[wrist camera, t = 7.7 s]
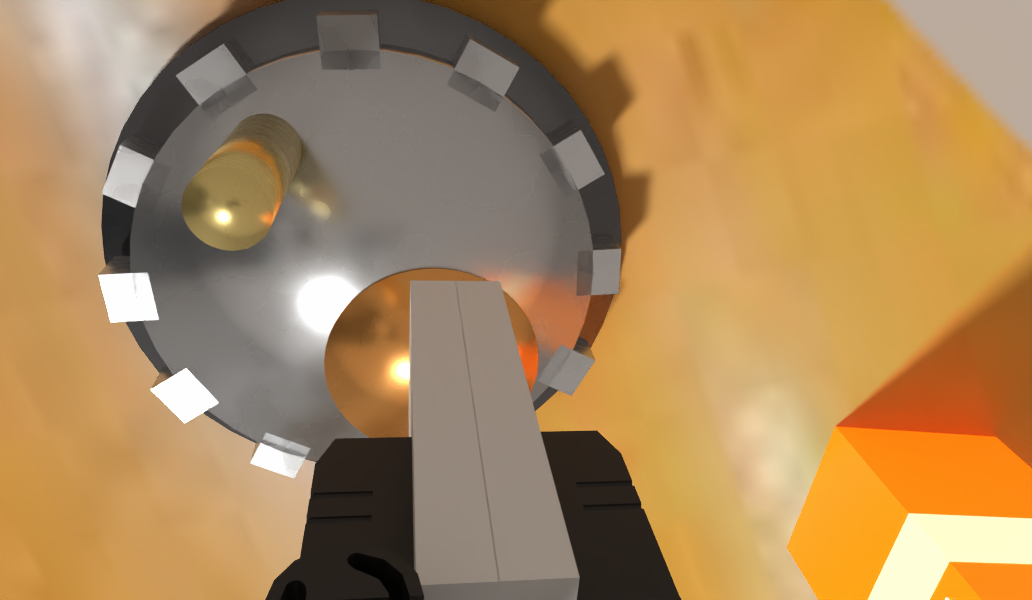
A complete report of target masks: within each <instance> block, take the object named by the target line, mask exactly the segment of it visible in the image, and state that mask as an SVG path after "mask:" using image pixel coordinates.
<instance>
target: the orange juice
mask: <svg viewBox="0 0 1032 600" xmlns="http://www.w3.org/2000/svg"><path fill="white" fill-rule="evenodd" d="M787 548H788V550H789V552H790V553H791V555H792V557H793V558H794V560H795V562H796V563H797V565H798V567H799V568H800V570H801V572H802V573H803V575H804V577H805V578H806V580H807V582H808V583H809V585H810V587H811V588H812V590H813V592H814V593H815V595H816V597H817V598H818V600H1032V468H1031V467H1030V466H1028V465H1027V464H1026V463H1025V462H1024V461H1023V460H1022V459H1020V458H1019V457H1018V456H1017V455H1016V454H1015V453H1014V452H1012V451H1011V450H1010V449H1009V448H1008V447H1007V446H1006V445H1004V444H1003V443H1002V442H1001V441H1000V440H999V439H998V438H997V437H991V436H975V435H960V434H944V433H929V432H913V431H898V430H882V429H867V428H851V427H836V426H835V429H834V431H833V434H832V436H831V439H830V441H829V444H828V446H827V449H826V451H825V454H824V456H823V459H822V461H821V464H820V466H819V469H818V471H817V474H816V476H815V479H814V481H813V484H812V486H811V489H810V491H809V494H808V496H807V499H806V501H805V504H804V506H803V509H802V511H801V514H800V516H799V519H798V521H797V524H796V526H795V529H794V531H793V534H792V536H791V539H790V541H789V544H788V546H787Z"/></svg>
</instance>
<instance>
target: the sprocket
mask: <svg viewBox="0 0 1032 600" xmlns="http://www.w3.org/2000/svg"><path fill="white" fill-rule="evenodd" d="M316 19H317V28H318V37H319V46H315V47H310V48H306V49H302V50H297V51H293V52H289V53H286V54H284V55H281V56H278V57H276V58H273V59H270V60H268V61H265V62H263V63H260V64H258V65H256V66H255V64H254V63H253V61H252V60H251V59H250V57H249V56H248V55H247V53H246V52H245V51H244V49H243V48H242V46H241V45H240V44H239V42H238V41H237V40H236V38H235V37H233V38H231V39H230V40H228V41H227V42H225V43H224V44H222V45H221V46H219V47H218V48H216V49H215V50H213V51H212V52H210V53H209V54H207V55H206V56H204V57H203V58H201V59H200V60H198V61H197V62H195V63H194V64H192V65H191V66H189V67H188V68H186V69H185V70H183V71H182V72H180V73H179V74H177V75H176V77H177V78H178V79H179V80H180V82H181V83H182V84H183V86H184V87H185V88H186V89H187V91H188V92H189V93H190V94H191V96H192V97H193V98H194V99H195V101H196V102H197V103H198V105H199V106H197V107H196V108H195V109H194V110H193V111H192V112H191V113H190V114H189V116H188V117H187V118H186V119H185V120H184V121H183V122H182V123H181V124H180V125H179V126H178V127H177V128H176V129H175V130H174V131H173V133H172V134H171V135H170V137H169V138H168V140H167V141H166V143H165V144H164V145H163V144H160V143H158V142H156V141H154V140H152V139H150V138H147V137H145V136H143V135H141V134H139V133H137V132H136V133H135V134H133V135H132V136H131V137H129V138H128V139H127V140H125V141H124V142H123V143H121V144H120V146H119V149H118V151H117V154H116V157H115V159H114V162H113V165H112V167H111V170H110V173H109V175H108V178H107V181H106V183H105V186H104V189H103V191H102V194H104V195H106V196H108V197H111V198H113V199H115V200H118V201H120V202H122V203H125V204H127V205H129V206H132V207H134V208H135V210H134V216H133V223H132V230H131V237H130V256H114V257H113V259H112V260H111V261H110V262H109V263H108V264H107V265H106V267H105V268H104V269H103V270H102V271H101V272H100V273H99V274H98V276H99V280H100V284H101V288H102V292H103V295H104V299H105V303H106V307H107V310H108V314H109V318H110V322H125V321H143V323H144V326H145V328H146V330H147V332H148V334H149V336H150V338H151V340H152V342H153V344H154V346H155V348H156V350H157V352H158V353H159V355H160V356H161V358H162V359H163V361H164V362H165V364H166V366H164V367H163V368H162V370H161V372H160V374H159V376H158V377H157V379H156V381H155V383H154V385H153V386H152V388H151V391H152V392H154V393H155V394H156V395H157V396H158V397H159V398H160V399H161V400H162V401H163V402H164V403H165V404H166V405H167V406H168V407H169V408H170V409H171V410H172V411H173V412H174V413H175V414H176V415H177V416H178V417H179V418H180V419H181V420H182V421H183V422H184V423H186V422H188V421H189V420H191V419H193V418H194V417H196V416H198V415H199V414H201V413H203V412H205V411H206V410H208V411H210V412H211V413H212V414H214V415H215V416H216V417H218V418H219V419H221V420H222V421H223V422H225V423H226V424H228V425H229V426H230V427H232V428H233V429H235V430H237V431H239V432H241V433H242V434H244V435H246V436H248V437H250V438H252V439H253V440H255V441H256V445H255V448H254V452H253V455H252V458H251V462H250V463H251V464H254V465H257V466H259V467H262V468H265V469H268V470H271V471H274V472H277V473H280V474H283V475H286V476H289V477H292V478H295V476H296V474H297V472H298V470H299V469H300V467H301V465H302V463H303V461H304V460H305V459H308V460H313V461H318V460H319V459H320V457H321V456H322V455H323V454H324V452H325V451H326V450H327V449H328V447H329V446H330V445H331V444H332V442H333V441H334V440H335V439H337V438H386V437H409V342H410V280H417V281H500V283H501V287H502V291H503V294H504V298H505V302H506V306H507V309H508V313H509V317H510V320H511V324H512V328H513V332H514V335H515V339H516V343H517V346H518V350H519V354H520V358H521V361H522V365H523V369H524V372H525V376H526V380H527V384H528V387H529V391H530V395H531V398H532V402H534V401H535V400H536V399H537V398H538V397H539V396H540V395H541V394H542V393H543V392H544V391H545V390H546V389H547V388H548V386H550V387H552V388H554V389H557V390H559V391H561V392H564V393H566V394H568V395H571V396H572V394H573V393H574V391H575V390H576V388H577V387H578V385H579V384H580V382H581V381H582V379H583V378H584V376H585V375H586V373H587V372H588V370H589V369H590V367H591V366H592V365H593V363H594V362H595V358H594V356H593V354H592V351H591V349H590V347H589V344H588V342H587V340H585V339H583V338H581V337H579V334H580V332H581V329H582V327H583V324H584V321H585V317H586V313H587V309H588V306H589V302H590V297H591V295H603V294H619V280H620V264H621V247H620V246H619V244H618V243H617V241H616V240H615V238H614V237H613V235H612V234H611V233H599V234H591V233H590V227H589V221H588V218H587V214H586V211H585V208H584V205H583V202H582V199H581V195H580V193H579V191H578V190H579V189H581V188H582V187H584V186H586V185H587V184H589V183H591V182H592V181H594V180H596V179H597V178H599V177H601V176H602V175H604V174H605V173H604V172H603V170H602V168H601V166H600V164H599V162H598V160H597V159H596V157H595V155H594V153H593V151H592V149H591V148H590V146H589V144H588V142H587V140H586V138H585V137H584V135H583V133H582V131H581V129H580V128H579V127H578V126H577V125H576V123H575V122H574V121H573V120H572V119H571V120H569V121H568V122H566V123H564V124H563V125H561V126H559V127H558V128H556V129H554V130H553V131H551V132H550V133H548V134H545V133H544V131H543V130H542V129H541V128H540V127H539V125H538V124H537V123H536V122H535V121H534V120H533V119H532V118H531V116H530V115H529V114H528V113H527V112H526V111H525V110H524V109H523V108H522V107H521V106H520V105H519V104H517V103H516V102H515V101H514V100H513V99H512V98H510V97H509V96H508V95H507V94H506V91H507V90H508V88H509V86H510V84H511V82H512V81H513V79H514V77H515V75H516V73H517V71H518V70H519V68H520V67H519V66H518V65H517V64H516V62H515V61H514V60H513V59H512V58H510V57H508V56H506V55H505V54H503V53H501V52H499V51H498V50H496V49H494V48H493V47H491V46H489V45H487V44H486V43H484V42H482V41H480V40H479V39H477V38H475V37H474V36H472V35H470V34H468V33H466V35H465V37H464V39H463V41H462V43H461V44H460V46H459V48H458V50H457V52H456V54H455V56H454V58H453V60H452V61H450V60H447V59H444V58H441V57H438V56H435V55H432V54H429V53H426V52H423V51H420V50H416V49H411V48H405V47H400V46H394V45H389V44H381V35H380V22H379V9H371V10H321V11H320V12H319V13H318V14H317V15H316Z"/></svg>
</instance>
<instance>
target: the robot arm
mask: <svg viewBox="0 0 1032 600" xmlns="http://www.w3.org/2000/svg"><path fill="white" fill-rule="evenodd" d="M265 600H681V598H680V596H679V594H678V592H677V589H676V587H675V584H674V582H673V580H672V577H671V575H670V572H669V570H668V567H667V565H666V562H665V560H664V558H663V555H662V553H661V550H660V548H659V545H658V543H657V540H656V538H655V536H654V533H653V531H652V528H651V526H650V523H649V521H648V518H647V516H646V514H645V511H644V509H642V508H641V501H640V499H639V496H638V494H637V492H636V489H635V487H634V486H632V479H631V477H630V474H629V472H628V470H627V467H626V465H625V462H624V460H623V457H622V455H621V453H620V452H619V451H618V450H617V449H616V448H615V447H614V446H612V445H611V444H610V443H609V442H608V441H607V440H606V439H605V438H604V437H603V436H602V435H601V434H600V433H599V432H598V431H557V432H540V428H539V424H538V421H537V417H536V413H535V410H534V406H533V402H532V398H531V395H530V391H529V387H528V384H527V380H526V376H525V372H524V369H523V365H522V361H521V358H520V354H519V350H518V346H517V343H516V339H515V335H514V332H513V328H512V324H511V320H510V317H509V313H508V309H507V306H506V302H505V298H504V294H503V291H502V287H501V283H500V281H417V280H410V342H409V437H386V438H337V439H335V440H334V441H333V442H332V444H331V445H330V446H329V447H328V449H327V450H326V451H325V452H324V454H323V455H322V456H321V457H320V459H319V460H318V461H317V462H316V464H315V469H314V475H313V482H312V488H311V498H310V500H309V506H308V512H307V523H306V525H305V531H304V537H303V543H302V550H301V556H300V559H298V560H295V561H294V562H293V563H292V564H291V565H290V566H289V567H288V568H287V569H286V570H285V571H283V572H282V573H281V574H280V575H279V576H278V577H277V578H276V579H275V580H274V582H273V584H272V586H271V589H270V591H269V593H268V595H267V597H266V599H265Z"/></svg>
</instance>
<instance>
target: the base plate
mask: <svg viewBox="0 0 1032 600" xmlns="http://www.w3.org/2000/svg"><path fill="white" fill-rule="evenodd" d="M371 9H379V22H380V35H381V44H389V45H394V46H400V47H405V48H411V49H416V50H420V51H423V52H426V53H429V54H432V55H435V56H438V57H441V58H444V59H447V60H450V61H452V60H453V58H454V56H455V54H456V52H457V50H458V48H459V46H460V44H461V43H462V41H463V39H464V37H465V35H466V33H468V34H470V35H472V36H474V37H475V38H477V39H479V40H480V41H482V42H484V43H486V44H487V45H489V46H491V47H493V48H494V49H496V50H498V51H499V52H501V53H503V54H505V55H506V56H508V57H510V58H512V59H513V60H514V61H515V62H516V64H517V65H518V66H519V67H520V68H519V70H518V71H517V73H516V75H515V77H514V79H513V81H512V82H511V84H510V86H509V88H508V90H507V91H506V94H507V95H508V96H509V97H510V98H512V99H513V100H514V101H515V102H516V103H517V104H519V105H520V106H521V107H522V108H523V109H524V110H525V111H526V112H527V113H528V114H529V115H530V116H531V118H532V119H533V120H534V121H535V122H536V123H537V124H538V125H539V127H540V128H541V129H542V130H543V131H544V133H545V134H548V133H550V132H551V131H553V130H554V129H556V128H558V127H559V126H561V125H563V124H564V123H566V122H568V121H569V120H571V119H572V120H573V121H574V122H575V123H576V125H577V126H578V127H579V128H580V129H581V131H582V133H583V135H584V137H585V138H586V140H587V142H588V144H589V146H590V148H591V149H592V151H593V153H594V155H595V157H596V159H597V160H598V162H599V164H600V166H601V168H602V170H603V172H604V173H605V174H604V175H602V176H601V177H599V178H597V179H596V180H594V181H592V182H591V183H589V184H587V185H586V186H584V187H582V188H581V189H579V190H578V191H579V193H580V195H581V199H582V202H583V205H584V208H585V211H586V214H587V218H588V221H589V227H590V233H591V234H599V233H611V234H612V235H613V237H614V238H615V240H616V241H617V243H618V244H619V246H621V230H620V214H619V205H618V201H617V196H616V191H615V186H614V181H613V177H612V174H611V172H610V169H609V166H608V163H607V160H606V157H605V155H604V152H603V149H602V147H601V145H600V143H599V141H598V139H597V137H596V135H595V133H594V132H593V130H592V128H591V126H590V124H589V122H588V120H587V118H586V117H585V116H584V114H583V113H582V111H581V110H580V109H579V107H578V106H577V104H576V103H575V102H574V100H573V99H572V97H571V96H570V94H569V93H568V92H567V91H566V89H565V88H564V87H563V86H562V85H561V84H560V83H559V82H558V81H557V80H556V79H555V78H554V77H553V76H552V75H551V74H550V72H549V71H548V70H547V69H546V68H545V67H544V66H543V65H542V64H541V63H540V62H539V61H537V60H536V59H535V58H534V57H533V56H531V55H530V54H529V53H528V52H526V51H525V50H524V49H523V48H521V47H520V46H519V45H518V44H516V43H515V42H514V41H513V40H511V39H509V38H508V37H506V36H504V35H503V34H501V33H499V32H498V31H496V30H494V29H493V28H491V27H489V26H488V25H486V24H484V23H483V22H481V21H479V20H476V19H474V18H472V17H469V16H467V15H465V14H463V13H460V12H458V11H456V10H453V9H451V8H449V7H446V6H442V5H439V4H435V3H432V2H428V1H424V0H284V1H280V2H277V3H273V4H270V5H267V6H263V7H260V8H258V9H255V10H253V11H251V12H249V13H247V14H244V15H242V16H240V17H238V18H236V19H233V20H231V21H229V22H227V23H225V24H223V25H221V26H220V27H218V28H217V29H215V30H214V31H212V32H211V33H209V34H208V35H206V36H204V37H203V38H201V39H200V40H198V41H197V42H195V43H194V44H192V45H191V46H190V47H188V48H187V49H186V50H185V51H184V52H183V53H182V54H181V55H179V56H178V57H177V58H176V59H175V60H174V61H173V62H172V63H171V64H169V65H168V66H167V67H166V68H165V69H164V70H163V71H162V72H161V73H160V75H159V76H158V77H157V78H156V79H155V81H154V82H153V83H152V84H151V86H150V87H149V88H148V89H147V90H146V92H145V93H144V94H143V95H142V97H141V98H140V99H139V101H138V103H137V105H136V106H135V108H134V110H133V111H132V113H131V115H130V117H129V118H128V120H127V122H126V123H125V125H124V127H123V129H122V131H121V134H120V137H119V139H118V142H117V144H116V147H115V150H114V152H113V155H112V157H111V160H110V164H109V169H108V174H107V178H108V175H109V173H110V170H111V167H112V165H113V162H114V159H115V157H116V154H117V151H118V149H119V146H120V144H121V143H123V142H124V141H125V140H127V139H128V138H129V137H131V136H132V135H133V134H135V133H136V132H137V133H139V134H141V135H143V136H145V137H147V138H150V139H152V140H154V141H156V142H158V143H160V144H163V145H164V144H165V143H166V141H167V140H168V138H169V137H170V135H171V134H172V133H173V131H174V130H175V129H176V128H177V127H178V126H179V125H180V124H181V123H182V122H183V121H184V120H185V119H186V118H187V117H188V116H189V114H190V113H191V112H192V111H193V110H194V109H195V108H196V107H197V106H199V105H198V103H197V102H196V101H195V99H194V98H193V97H192V96H191V94H190V93H189V92H188V91H187V89H186V88H185V87H184V86H183V84H182V83H181V82H180V80H179V79H178V78H177V77H176V75H177V74H179V73H180V72H182V71H183V70H185V69H186V68H188V67H189V66H191V65H192V64H194V63H195V62H197V61H198V60H200V59H201V58H203V57H204V56H206V55H207V54H209V53H210V52H212V51H213V50H215V49H216V48H218V47H219V46H221V45H222V44H224V43H225V42H227V41H228V40H230V39H231V38H233V37H235V38H236V40H237V41H238V42H239V44H240V45H241V46H242V48H243V49H244V51H245V52H246V53H247V55H248V56H249V57H250V59H251V60H252V61H253V63H254V64H255V66H256V65H258V64H260V63H263V62H265V61H268V60H270V59H273V58H276V57H278V56H281V55H284V54H286V53H289V52H293V51H297V50H302V49H306V48H310V47H315V46H319V37H318V28H317V19H316V15H317V14H318V13H319V12H320V11H321V10H371ZM107 178H106V181H107ZM134 210H135V208H134V207H132V206H129V205H127V204H125V203H122V202H120V201H118V200H115V199H113V198H111V197H108V196H106V195H104V194H103V208H102V225H101V226H102V237H103V248H104V258H105V262H106V265H107V264H108V263H109V262H110V261H111V260H112V259H113V257H114V256H130V237H131V230H132V223H133V216H134ZM612 297H613V294H603V295H591V297H590V302H589V306H588V309H587V313H586V317H585V321H584V324H583V327H582V329H581V332H580V334H579V337H581V338H583V339H585V340H587V342H588V344H589V347H590V348H591V346H592V344H593V342H594V340H595V338H596V336H597V335H598V333H599V331H600V329H601V327H602V325H603V323H604V320H605V317H606V314H607V311H608V309H609V306H610V303H611V300H612ZM125 322H126V324H127V325H128V327H129V329H130V331H131V332H132V334H133V336H134V338H135V339H136V341H137V343H138V345H139V346H140V348H141V349H142V351H143V352H144V353H145V355H146V356H147V357H148V359H149V360H150V361H151V362H152V364H153V365H154V366H155V368H156V369H157V370H158V372H159V373H160V372H161V370H162V368H163V367H164V366H166V364H165V362H164V361H163V359H162V358H161V356H160V355H159V353H158V352H157V350H156V348H155V346H154V344H153V342H152V340H151V338H150V336H149V334H148V332H147V330H146V328H145V326H144V323H143V321H125ZM557 391H558V390H557V389H554V388H552V387H550V386H548V388H547V389H546V390H545V391H544V392H543V393H542V394H541V395H540V396H539V397H538V398H537V399H536V400H535V401H534V402H533V406H534V410H535V411H536V410H537V409H538V408H539V407H540V406H541V405H543V404H544V403H545V402H546V401H547V400H548V399H549V398H550V397H552V396H553V395H554V394H555V393H556V392H557ZM203 413H204V414H205V415H207V416H208V417H210V418H211V419H213V420H215V421H216V422H218V423H219V424H221V425H222V426H224V427H226V428H227V429H229V430H230V431H232V432H234V433H236V434H238V435H240V436H242V437H244V438H246V439H249V440H251V441H253V442H255V443H256V441H255V440H253V439H252V438H250V437H248V436H246V435H244V434H242V433H241V432H239V431H237V430H235V429H233V428H232V427H230V426H229V425H228V424H226V423H225V422H223V421H222V420H221V419H219V418H218V417H216V416H215V415H214V414H212V413H211V412H210V411H208V410H206V411H205V412H203ZM307 460H308V459H307ZM311 461H313V460H311ZM315 462H317V461H315Z"/></svg>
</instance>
